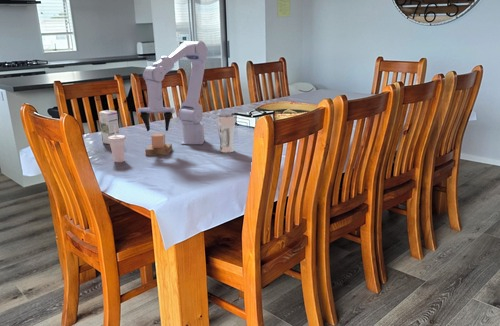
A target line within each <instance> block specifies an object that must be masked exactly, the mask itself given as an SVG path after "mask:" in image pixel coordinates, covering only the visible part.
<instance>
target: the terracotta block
mask: <svg viewBox="0 0 500 326" xmlns="http://www.w3.org/2000/svg"><path fill="white" fill-rule="evenodd" d="M150 137H151V144H152V148H164V146H165V145H166V144H167V143H166V133H165V132H164V133H152V135H151V136H150Z"/></svg>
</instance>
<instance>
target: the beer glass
mask: <svg viewBox="0 0 500 326" xmlns="http://www.w3.org/2000/svg"><path fill="white" fill-rule="evenodd" d="M235 127H236V126H235V115H234V114H231V113H230V114H229V113H227V114H226V113H223V114H218V115H217V130H218V131H217V132H218V137H219V140H220V141H219V142H220V143H219V144H220V145H219V152H220V153H222V154H230V153H234V152H235V148H234V135H235V132H236V131H235V130H236V129H235Z"/></svg>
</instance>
